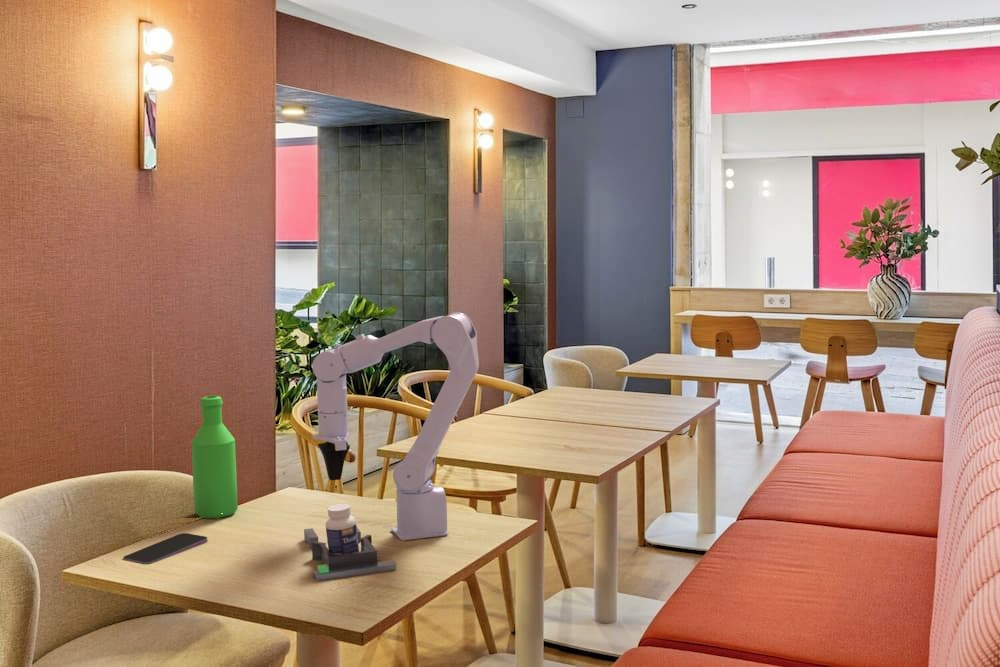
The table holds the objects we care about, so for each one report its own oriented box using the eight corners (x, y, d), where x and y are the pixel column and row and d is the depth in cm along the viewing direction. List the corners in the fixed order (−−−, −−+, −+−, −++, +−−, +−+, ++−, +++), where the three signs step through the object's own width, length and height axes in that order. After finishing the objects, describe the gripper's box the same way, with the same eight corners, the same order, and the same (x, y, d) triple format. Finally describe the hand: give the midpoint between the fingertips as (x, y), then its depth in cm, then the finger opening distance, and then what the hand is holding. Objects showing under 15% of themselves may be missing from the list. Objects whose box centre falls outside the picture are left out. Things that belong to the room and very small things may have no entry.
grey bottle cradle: (379, 549, 182) (378, 533, 182) (396, 569, 171) (395, 553, 170) (303, 559, 177) (302, 542, 177) (315, 580, 166) (315, 563, 165)
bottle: (197, 522, 201) (191, 401, 198) (192, 511, 209) (186, 395, 206) (241, 516, 204) (236, 398, 202) (234, 506, 212) (229, 392, 210)
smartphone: (120, 557, 178) (182, 532, 192) (120, 563, 179) (183, 537, 192) (148, 563, 175) (210, 537, 188) (148, 569, 175) (210, 542, 188)
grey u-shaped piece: (354, 533, 192) (353, 523, 192) (361, 542, 186) (360, 531, 186) (304, 539, 188) (304, 529, 188) (309, 548, 183) (309, 538, 183)
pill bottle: (348, 566, 172) (342, 513, 171) (323, 563, 175) (317, 511, 173) (365, 555, 177) (360, 503, 176) (341, 552, 179) (335, 501, 178)
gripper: (305, 406, 196) (307, 473, 198) (319, 419, 183) (321, 490, 184) (340, 404, 199) (342, 469, 200) (356, 416, 185) (358, 486, 187)
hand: (334, 479), depth 192 cm, fingers closed
